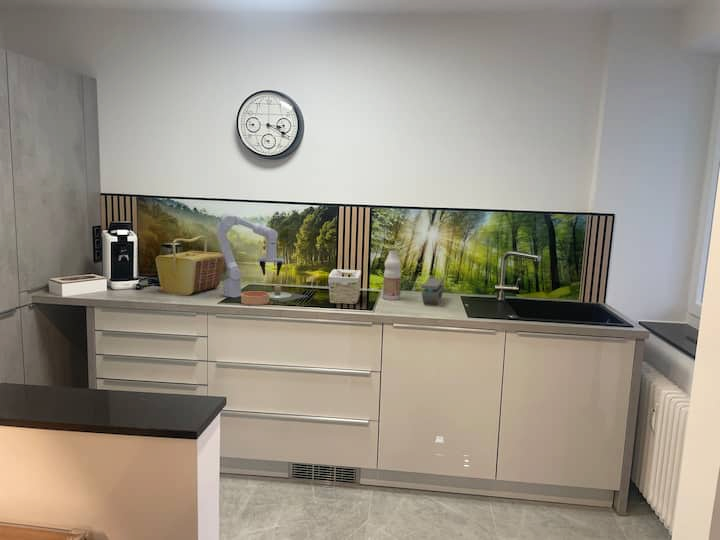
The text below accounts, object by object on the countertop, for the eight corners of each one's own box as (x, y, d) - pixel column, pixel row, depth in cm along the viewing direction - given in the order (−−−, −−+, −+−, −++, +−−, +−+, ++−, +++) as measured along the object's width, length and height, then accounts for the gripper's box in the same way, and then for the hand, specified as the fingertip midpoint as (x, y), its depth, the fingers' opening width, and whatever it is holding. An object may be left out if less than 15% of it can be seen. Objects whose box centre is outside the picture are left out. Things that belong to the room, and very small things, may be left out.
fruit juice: (383, 300, 311) (385, 248, 307) (382, 296, 320) (384, 246, 316) (400, 300, 311) (403, 249, 307) (399, 297, 321) (401, 247, 316)
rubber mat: (252, 296, 310) (252, 295, 310) (278, 291, 326) (278, 290, 326) (283, 302, 297) (283, 301, 297) (308, 297, 313) (308, 295, 313)
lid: (257, 296, 307) (257, 286, 306) (273, 291, 321) (273, 281, 320) (281, 300, 301) (281, 289, 300) (296, 295, 314) (296, 285, 313)
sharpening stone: (436, 307, 298) (437, 286, 296) (421, 305, 300) (422, 285, 298) (442, 298, 321) (443, 279, 320) (428, 297, 324) (429, 277, 322)
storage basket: (357, 305, 297) (358, 277, 295) (326, 303, 298) (327, 275, 296) (361, 296, 321) (361, 270, 319) (332, 294, 322) (332, 268, 320)
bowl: (235, 302, 294) (235, 293, 294) (255, 298, 306) (255, 290, 305) (255, 306, 286) (255, 297, 286) (274, 302, 298) (274, 293, 297)
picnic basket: (194, 297, 304) (193, 240, 300) (154, 292, 313) (153, 237, 309) (225, 288, 331) (225, 236, 327) (188, 284, 340) (187, 233, 336)
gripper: (256, 251, 312) (256, 275, 315) (282, 252, 312) (282, 276, 314) (259, 249, 319) (259, 273, 322) (285, 250, 318) (285, 274, 321)
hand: (271, 275), depth 318 cm, fingers open, 7 cm apart
